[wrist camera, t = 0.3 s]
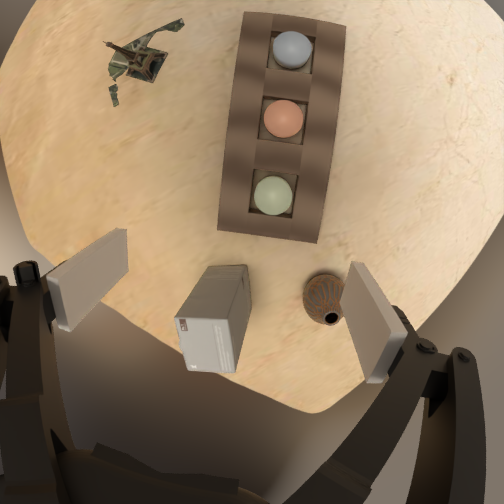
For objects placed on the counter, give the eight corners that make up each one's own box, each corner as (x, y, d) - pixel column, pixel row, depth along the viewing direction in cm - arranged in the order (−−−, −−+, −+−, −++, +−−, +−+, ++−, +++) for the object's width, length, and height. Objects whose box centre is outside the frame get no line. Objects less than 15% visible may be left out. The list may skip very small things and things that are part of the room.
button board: (245, 18, 30) (244, 11, 28) (342, 32, 30) (346, 26, 28) (220, 225, 42) (217, 230, 40) (314, 238, 42) (316, 243, 39)
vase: (343, 266, 43) (357, 293, 35) (342, 303, 45) (354, 335, 37) (300, 270, 44) (305, 299, 36) (302, 308, 46) (306, 341, 38)
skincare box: (252, 308, 47) (242, 376, 32) (210, 309, 47) (186, 374, 33) (247, 261, 44) (234, 320, 29) (202, 263, 44) (170, 320, 30)
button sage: (257, 173, 37) (256, 175, 35) (293, 178, 37) (294, 180, 34) (253, 207, 39) (251, 212, 36) (288, 212, 39) (289, 217, 36)
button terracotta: (266, 101, 34) (266, 97, 31) (302, 106, 34) (305, 103, 31) (262, 135, 35) (261, 134, 33) (298, 140, 35) (300, 139, 33)
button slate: (275, 36, 30) (275, 29, 27) (310, 42, 30) (313, 34, 27) (271, 66, 32) (271, 60, 29) (307, 71, 32) (309, 65, 29)
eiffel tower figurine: (184, 17, 31) (152, -21, 18) (202, 67, 34) (172, 38, 22) (102, 60, 33) (52, 43, 21) (116, 109, 37) (63, 103, 24)
